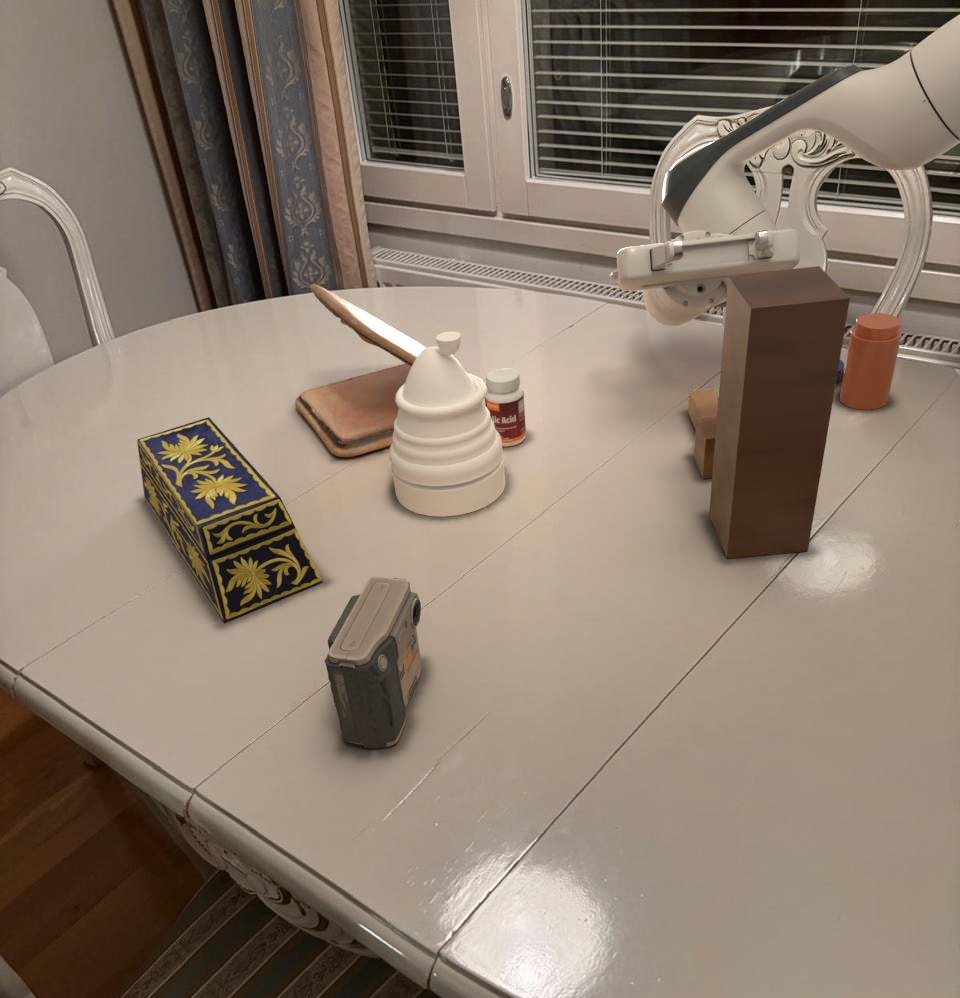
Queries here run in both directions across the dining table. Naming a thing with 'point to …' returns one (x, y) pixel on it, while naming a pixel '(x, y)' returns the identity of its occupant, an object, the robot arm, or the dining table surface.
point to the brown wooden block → (704, 428)
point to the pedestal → (774, 407)
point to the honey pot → (445, 437)
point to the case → (359, 387)
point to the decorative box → (223, 519)
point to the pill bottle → (506, 405)
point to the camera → (375, 661)
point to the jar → (870, 361)
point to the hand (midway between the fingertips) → (720, 242)
